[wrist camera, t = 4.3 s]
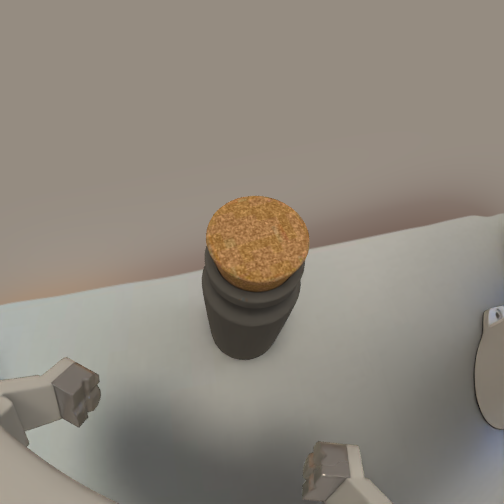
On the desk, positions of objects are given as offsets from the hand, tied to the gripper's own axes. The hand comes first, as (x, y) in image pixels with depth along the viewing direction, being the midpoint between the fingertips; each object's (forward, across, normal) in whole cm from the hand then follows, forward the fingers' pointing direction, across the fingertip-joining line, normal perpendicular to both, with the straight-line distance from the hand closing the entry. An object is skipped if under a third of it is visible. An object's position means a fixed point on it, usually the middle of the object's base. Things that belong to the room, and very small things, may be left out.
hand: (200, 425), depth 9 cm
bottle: (+17, 0, +5) cm, 18 cm away
